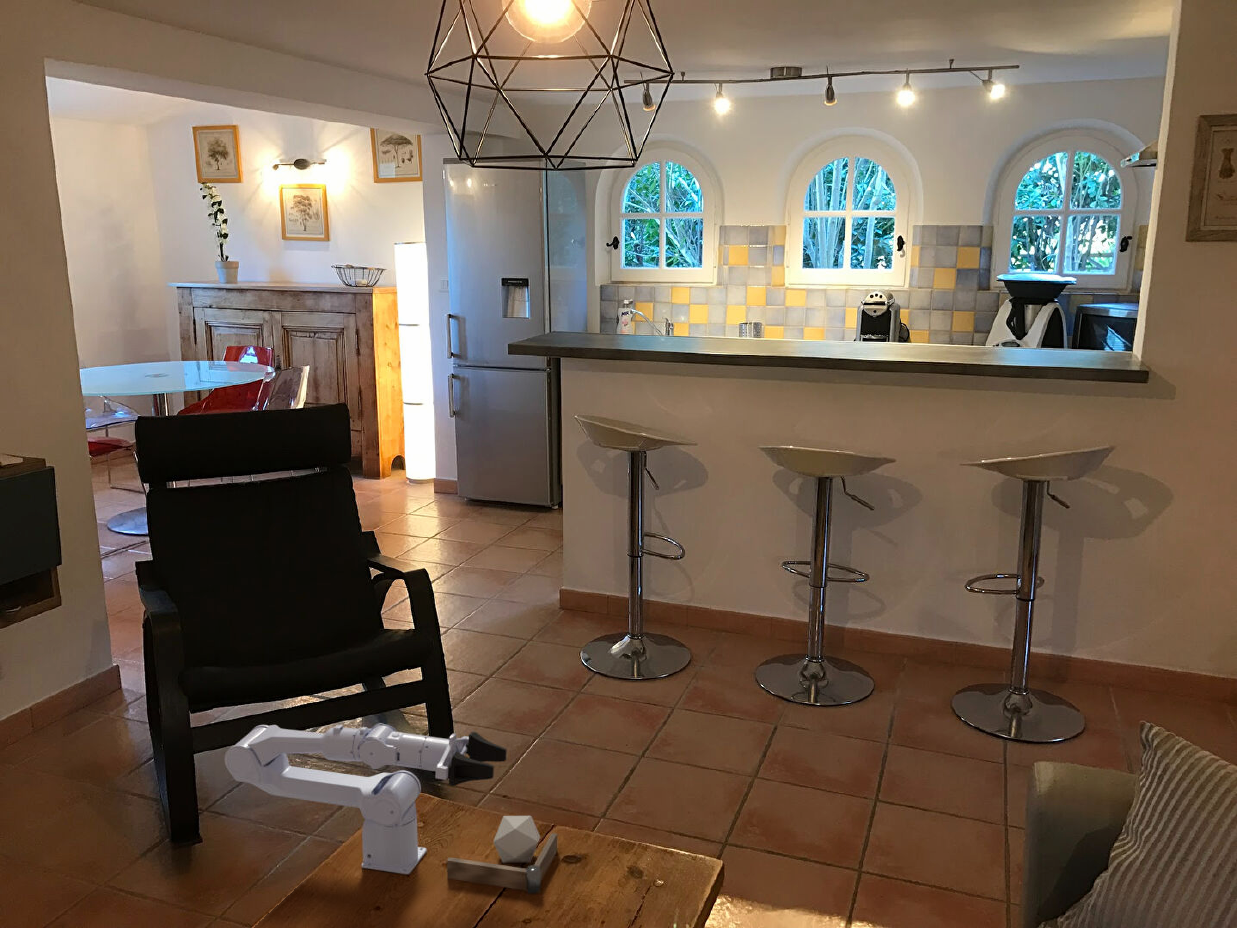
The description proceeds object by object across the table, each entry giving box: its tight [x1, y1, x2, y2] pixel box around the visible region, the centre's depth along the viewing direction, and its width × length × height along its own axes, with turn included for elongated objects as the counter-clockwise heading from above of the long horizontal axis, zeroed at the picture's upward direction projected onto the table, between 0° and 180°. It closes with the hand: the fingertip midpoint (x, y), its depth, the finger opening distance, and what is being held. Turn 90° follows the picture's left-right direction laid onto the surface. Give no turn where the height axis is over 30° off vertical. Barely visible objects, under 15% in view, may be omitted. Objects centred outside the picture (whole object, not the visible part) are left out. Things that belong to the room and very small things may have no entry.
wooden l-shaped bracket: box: [446, 832, 558, 895], centre depth 183 cm, size 17×14×4 cm
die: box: [493, 815, 541, 864], centre depth 185 cm, size 8×9×10 cm
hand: (499, 763), depth 177 cm, fingers open, 7 cm apart
